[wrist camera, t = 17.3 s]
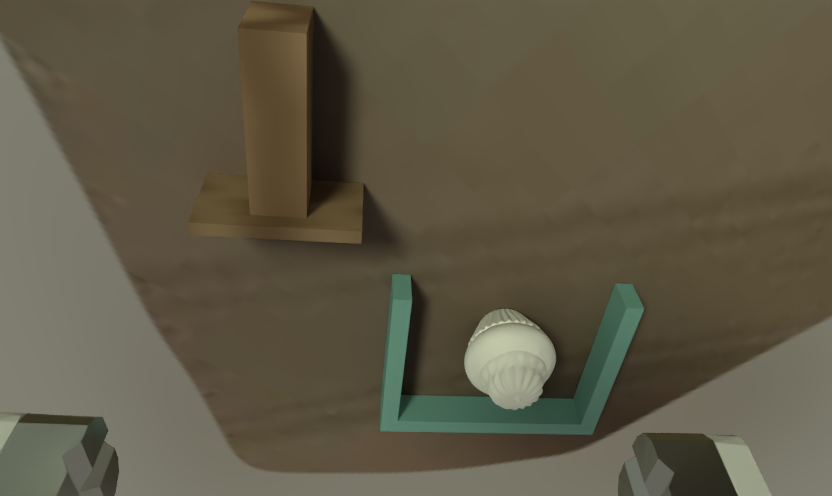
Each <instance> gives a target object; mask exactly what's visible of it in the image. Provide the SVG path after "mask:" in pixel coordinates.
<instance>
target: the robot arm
mask: <svg viewBox="0 0 832 496" xmlns="http://www.w3.org/2000/svg"><path fill="white" fill-rule="evenodd" d="M107 432H108V429H107V426H106V424H105V421H104V419H103V417H94V416H72V415H48V414H31V413H6V412H0V496H114V495H115V492H116V487H117V480H118V474H119V465H118V456H117V453H116V451H115V448H114V447H112V446H111V445H109V444H108V443H106V442H105V441H104V439H105V437H106V435H107ZM633 449H634V452H635V457H633V458H631V459H630V460H628V461H626V462H625V463H624V465H623V467H622V470H621V472H620V474H619V484H618V485H619V486H618V496H772V494H771V493H770V491H769V488H768V486H767V484H766V482H765V480H764V478H763V476H762V474H761V472H760V470H759V468H758V466H757V464H756V462H755V460H754V458H753V457H752V454H751V452H750V450H749V448H748V446H747V444H746V442H744V441H743V440H742V439H741V438H740V437H739V436H734V435H704V434H685V433H684V434H683V433H681V434H680V433H643V434H641V435H639V436H637V438H636V440H635V442H634V444H633Z"/></svg>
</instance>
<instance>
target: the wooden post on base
mask: <svg viewBox="0 0 832 496" xmlns="http://www.w3.org/2000/svg"><path fill="white" fill-rule="evenodd" d="M238 38H239V53H240V69H241V84H242V100H243V115H244V131H245V146H246V162H247V176H238V175H221V174H207V176H206V179H205V181H204V184H203V186H202V189H201V191H200V194H199V196H198V199H197V201H196V204H195V206H194V209H193V211H192V214H191V216H190V218H189V221H188V228H189V235H197V236H217V237H237V238H257V239H276V240H296V241H316V242H336V243H355V244H361V243H362V220H363V185H364V183H354V182H338V181H321V180H312V152H313V7H312V6H300V5H289V4H277V3H266V2H254V1H251V3H250V5H249V7H248V9H247V11H246V13H245V15H244V17H243V19H242V21H241V23H240V25H239V27H238Z"/></svg>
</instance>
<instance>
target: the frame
mask: <svg viewBox="0 0 832 496" xmlns="http://www.w3.org/2000/svg"><path fill="white" fill-rule="evenodd" d="M411 306H412V290H411V275H403V274H392V283H391V294H390V304H389V315H388V326H387V337H386V347H385V358H384V369H383V379H382V390H381V401H380V431H406V432H462V433H518V434H574V435H592V434H593V432H594V429H595V427H596V425H597V422H598V420H599V417H600V415H601V413H602V410H603V408H604V405H605V403H606V400H607V398H608V396H609V393H610V391H611V388H612V386H613V384H614V381H615V379H616V376H617V374H618V371H619V369H620V367H621V364H622V362H623V359H624V357H625V355H626V352H627V350H628V347H629V345H630V342H631V340H632V338H633V335H634V333H635V330H636V328H637V326H638V323H639V321H640V318H641V316H642V313H643V311H644V307H643V305H642V303H641V301H640V299H639V297H638V295H637V293H636V290H635V288H634V286H633V284H622V283H615V286H614V288H613V291H612V294H611V296H610V299H609V302H608V305H607V307H606V310H605V313H604V316H603V318H602V321H601V324H600V327H599V329H598V332H597V335H596V337H595V340H594V343H593V346H592V348H591V351H590V354H589V357H588V359H587V362H586V365H585V368H584V370H583V373H582V376H581V379H580V381H579V384H578V387H577V389H576V392H575V395H574V398H573V399H562V398H539V399H538V401H536V402H532V405H531V406H525V408H524V409H521V408H518V409H517V410H512V409H504V408H502V407H501V406H498V405H496V404H495V403H494V402H493V401H492V399H491V397H476V396H433V395H401V388H402V380H403V372H404V364H405V355H406V347H407V339H408V331H409V322H410V314H411Z"/></svg>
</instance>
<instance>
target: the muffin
mask: <svg viewBox="0 0 832 496" xmlns="http://www.w3.org/2000/svg"><path fill="white" fill-rule="evenodd" d="M555 363H556V353H555V349H554V346H553V344H552V342H551V340H550V339H549V338H548V336H547V335H546V334H545V333H544V332H543V331H542V330H541V329H540V328H539V327H538V326H537V325H536V324H534V323H533V322H532V321H530V320H529V319H527V318H526V317H525V316H523V315H522V314H521V313H518V312H517V311H516V310H512V309H508V308H507V309H498V310H494V311H493V312H490V313H489V314H486V316H484V317H483V319H481V321H480V323H479V325H478V327H477V328H476V330H475V332H474V334H473V335H472V337H471V340H470V341H469V343H468V348H467V351H466V354H465V359H464V365H465V371H466V374H467V376H468V378H469V380H470V381H471V383H472V384H473V385H474V386H475V387H476V388H477V389H479V390H480V391H482V392H484V393H486V394H488V395H489V396H490V397H491V399H492V401H493V402H494V403H495V404H496V405H498V406H501V407H502V408H504V409H512V410H517V409H518V408H521V409H524V408H525V406H531V405H532V402H536V401H538V399H539V396H540V395H541V394H542V392H543V389H542V387H543V385H544V383H545V382H546V381H547V379H548V378H549V377H550V375H551V373H552V371H553V369H554V367H555Z"/></svg>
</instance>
